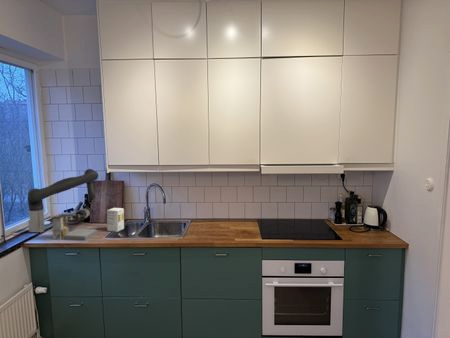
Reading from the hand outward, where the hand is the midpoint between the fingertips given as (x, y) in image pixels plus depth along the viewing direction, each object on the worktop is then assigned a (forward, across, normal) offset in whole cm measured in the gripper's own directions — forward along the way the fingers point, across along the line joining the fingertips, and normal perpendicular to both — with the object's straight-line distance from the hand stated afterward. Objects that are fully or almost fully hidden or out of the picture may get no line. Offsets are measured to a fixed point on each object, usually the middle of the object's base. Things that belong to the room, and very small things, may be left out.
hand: (70, 219), depth 217 cm
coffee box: (+11, 0, +10) cm, 15 cm away
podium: (+7, +13, +10) cm, 18 cm away
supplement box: (-11, +31, +10) cm, 34 cm away
